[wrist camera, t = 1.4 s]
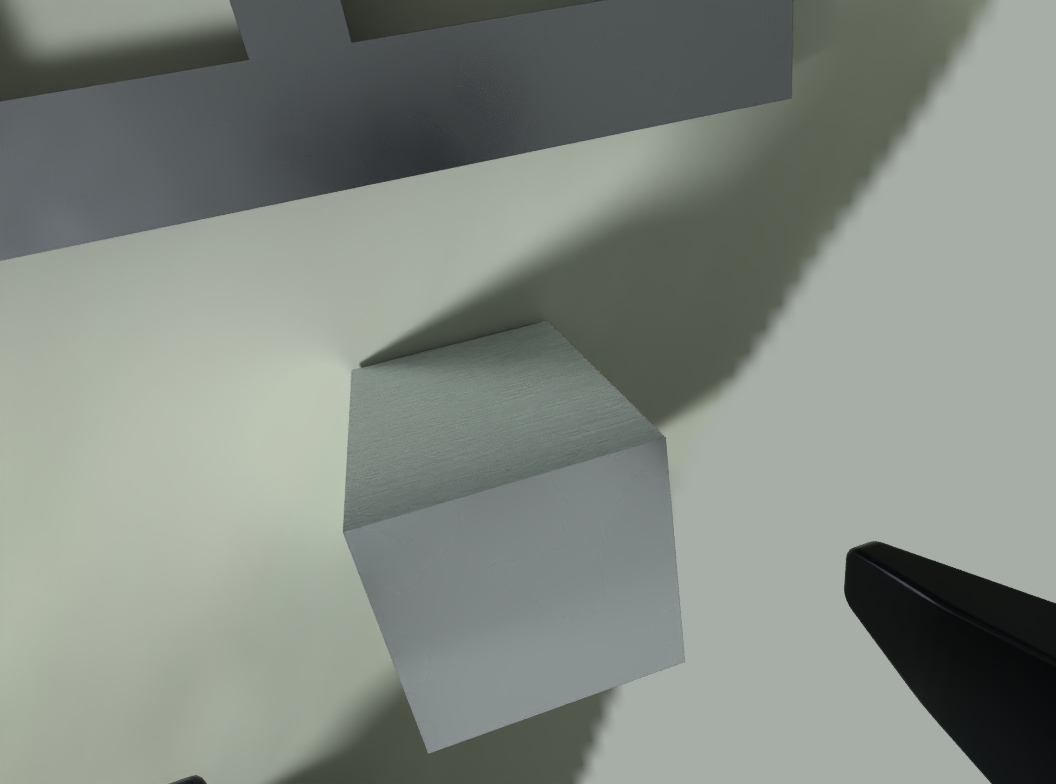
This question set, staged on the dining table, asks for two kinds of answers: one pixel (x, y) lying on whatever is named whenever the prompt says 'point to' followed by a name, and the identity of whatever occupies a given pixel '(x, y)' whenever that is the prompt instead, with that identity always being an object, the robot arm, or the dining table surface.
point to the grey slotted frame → (369, 108)
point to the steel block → (509, 530)
